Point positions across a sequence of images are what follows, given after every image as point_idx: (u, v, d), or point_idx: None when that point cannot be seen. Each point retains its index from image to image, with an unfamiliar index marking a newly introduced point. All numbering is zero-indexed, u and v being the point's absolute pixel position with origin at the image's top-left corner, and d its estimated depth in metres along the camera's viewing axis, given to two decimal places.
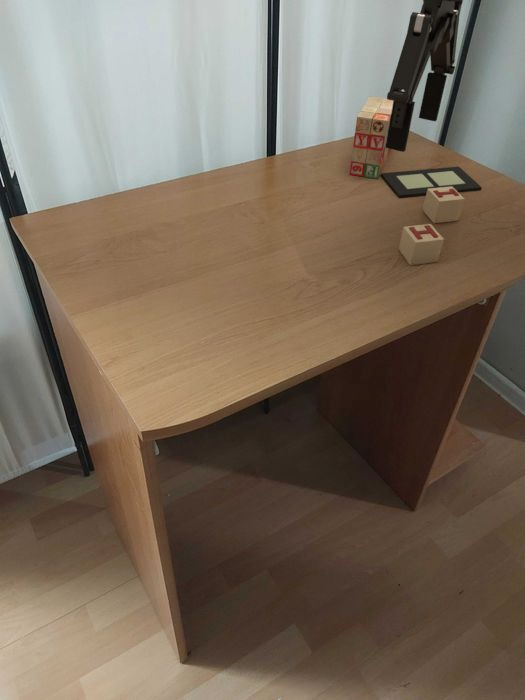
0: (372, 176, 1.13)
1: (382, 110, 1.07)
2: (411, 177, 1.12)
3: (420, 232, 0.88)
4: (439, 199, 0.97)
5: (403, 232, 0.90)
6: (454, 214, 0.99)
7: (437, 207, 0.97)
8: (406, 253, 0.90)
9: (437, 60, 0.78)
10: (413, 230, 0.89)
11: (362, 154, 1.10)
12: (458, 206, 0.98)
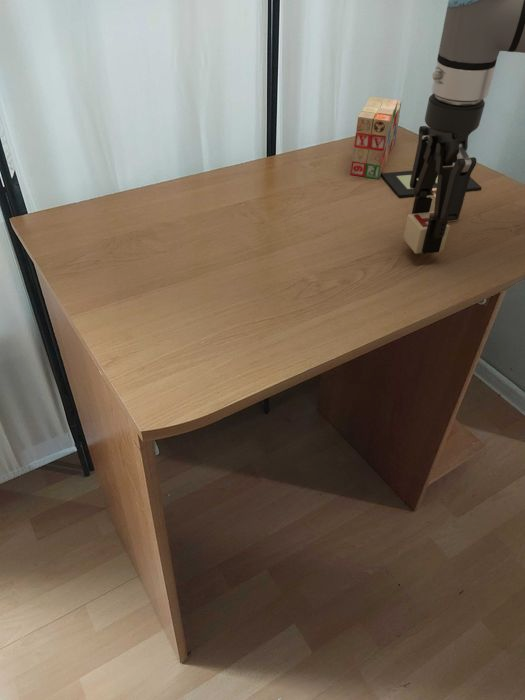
0: (373, 176, 1.13)
1: (383, 110, 1.07)
2: None
3: (425, 219, 0.86)
4: None
5: (408, 220, 0.88)
6: None
7: None
8: (411, 241, 0.88)
9: (427, 183, 0.85)
10: (418, 217, 0.87)
11: (363, 155, 1.10)
12: None
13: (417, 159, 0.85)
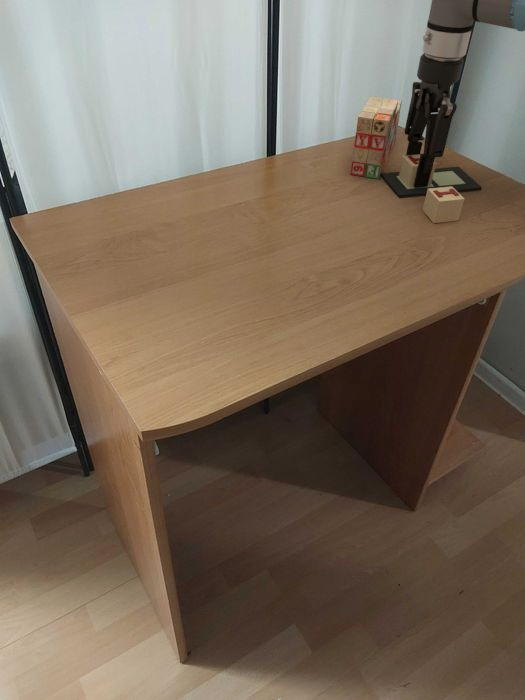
0: (373, 176, 1.13)
1: (383, 110, 1.07)
2: None
3: (416, 159, 1.07)
4: (439, 199, 0.97)
5: (402, 160, 1.09)
6: (454, 214, 0.99)
7: (437, 207, 0.97)
8: (405, 177, 1.09)
9: (418, 129, 1.06)
10: (411, 158, 1.08)
11: (363, 154, 1.10)
12: (458, 206, 0.98)
13: (411, 109, 1.05)
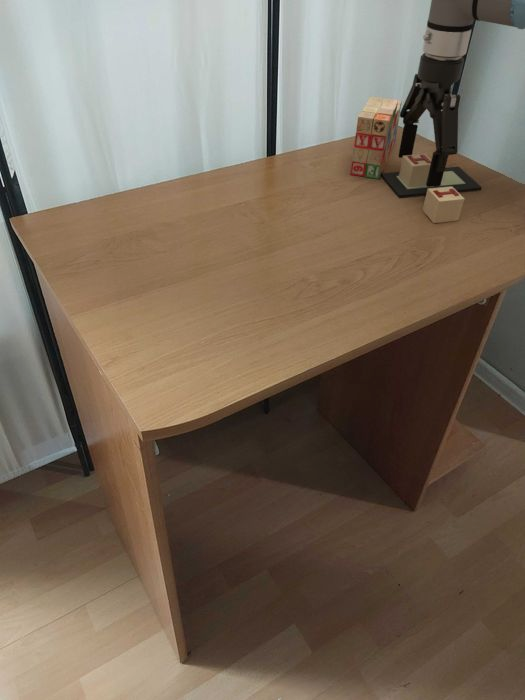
0: (373, 176, 1.13)
1: (383, 110, 1.07)
2: None
3: (416, 159, 1.07)
4: (439, 199, 0.97)
5: (402, 160, 1.09)
6: (454, 214, 0.99)
7: (437, 207, 0.97)
8: (405, 177, 1.09)
9: (414, 116, 1.07)
10: (411, 157, 1.08)
11: (363, 154, 1.10)
12: (458, 206, 0.98)
13: (409, 98, 1.06)
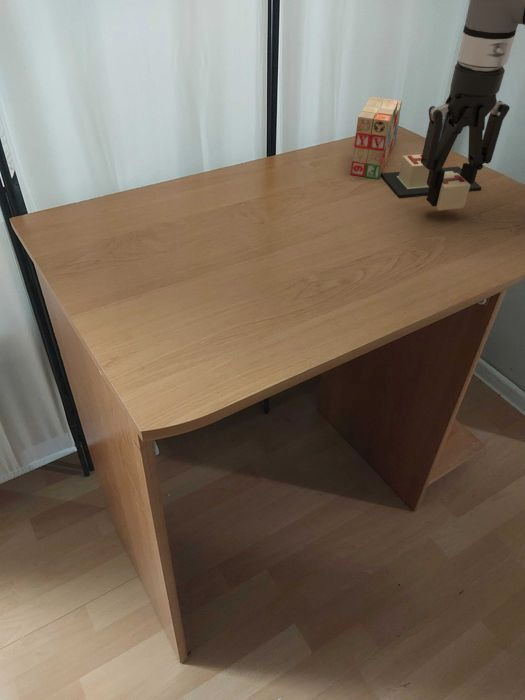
0: (373, 176, 1.13)
1: (383, 110, 1.07)
2: None
3: (416, 159, 1.07)
4: (444, 185, 0.95)
5: (402, 160, 1.09)
6: (460, 201, 0.97)
7: (442, 193, 0.95)
8: (405, 177, 1.09)
9: None
10: (411, 157, 1.08)
11: (363, 154, 1.10)
12: (464, 192, 0.96)
13: (437, 140, 0.89)
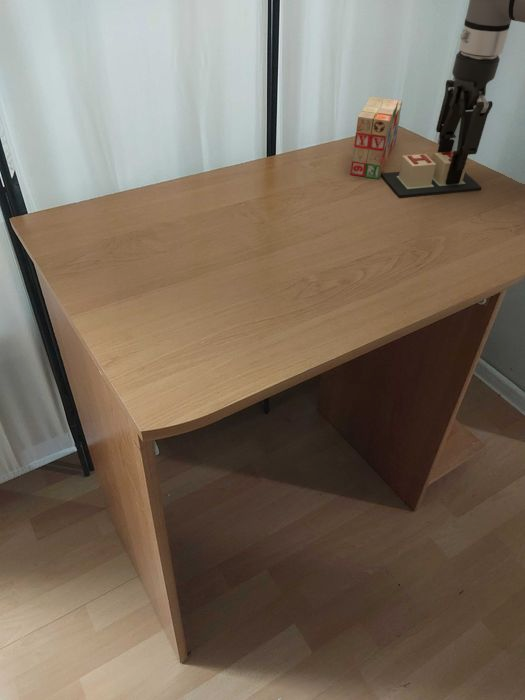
0: (373, 176, 1.13)
1: (383, 110, 1.07)
2: None
3: (416, 159, 1.07)
4: (437, 153, 1.10)
5: (402, 160, 1.09)
6: (438, 175, 1.09)
7: None
8: (405, 177, 1.09)
9: (451, 127, 1.07)
10: (411, 157, 1.08)
11: (363, 154, 1.10)
12: (441, 168, 1.08)
13: (443, 107, 1.07)
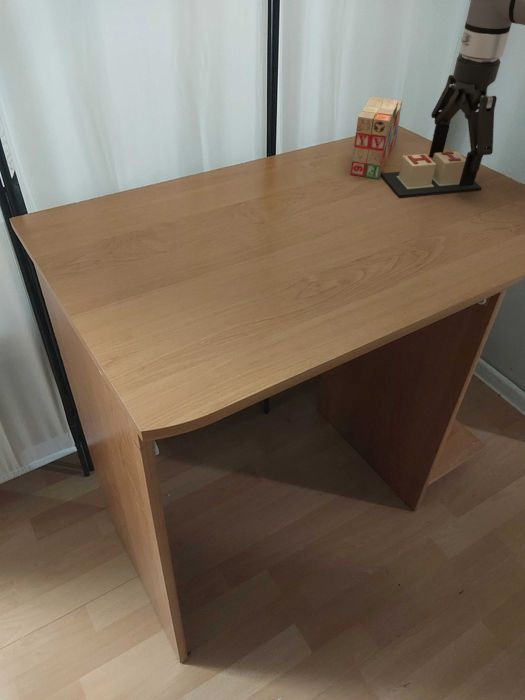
0: (373, 176, 1.13)
1: (383, 110, 1.07)
2: None
3: (416, 159, 1.07)
4: (437, 153, 1.10)
5: (402, 160, 1.09)
6: (438, 175, 1.09)
7: None
8: (405, 177, 1.09)
9: (446, 117, 1.08)
10: (411, 157, 1.08)
11: (363, 154, 1.10)
12: (441, 168, 1.08)
13: (441, 99, 1.07)
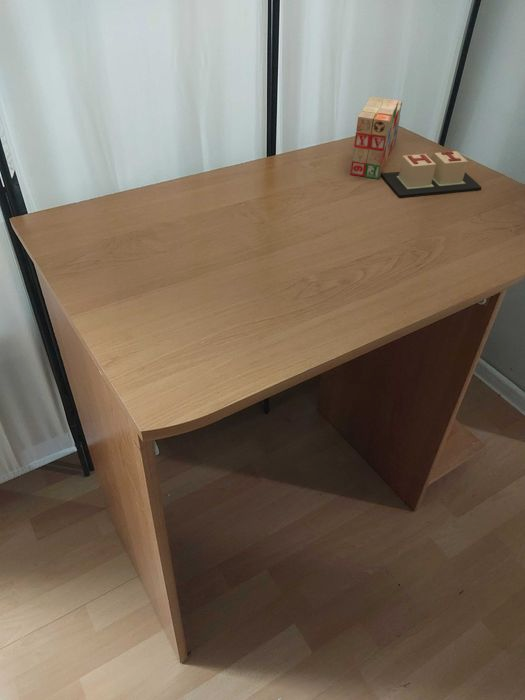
0: (373, 176, 1.13)
1: (383, 110, 1.07)
2: None
3: (416, 159, 1.07)
4: (437, 153, 1.10)
5: (402, 160, 1.09)
6: (438, 175, 1.09)
7: None
8: (405, 177, 1.09)
9: None
10: (411, 157, 1.08)
11: (363, 154, 1.10)
12: (441, 168, 1.08)
13: None
